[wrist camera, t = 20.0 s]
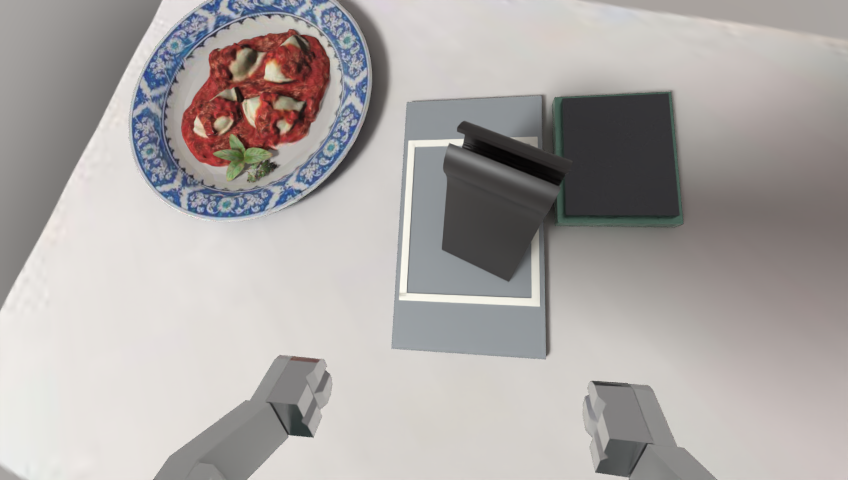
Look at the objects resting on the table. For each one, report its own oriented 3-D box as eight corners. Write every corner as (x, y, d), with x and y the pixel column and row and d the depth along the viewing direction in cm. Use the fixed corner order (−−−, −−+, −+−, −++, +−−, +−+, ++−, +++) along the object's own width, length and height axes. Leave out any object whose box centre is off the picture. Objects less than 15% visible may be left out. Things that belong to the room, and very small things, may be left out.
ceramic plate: (192, -7, 40) (170, -31, 38) (404, 4, 36) (397, -23, 33) (114, 204, 36) (82, 195, 33) (341, 249, 31) (327, 243, 29)
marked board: (540, 99, 31) (541, 94, 30) (544, 358, 27) (546, 359, 26) (408, 105, 33) (406, 101, 32) (393, 347, 29) (391, 348, 28)
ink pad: (664, 99, 29) (674, 87, 28) (676, 226, 27) (687, 221, 26) (552, 104, 31) (556, 93, 29) (555, 225, 29) (559, 221, 27)
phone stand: (489, 157, 30) (491, 61, 18) (556, 184, 29) (604, 99, 17) (441, 250, 29) (412, 210, 18) (508, 282, 28) (524, 264, 16)
